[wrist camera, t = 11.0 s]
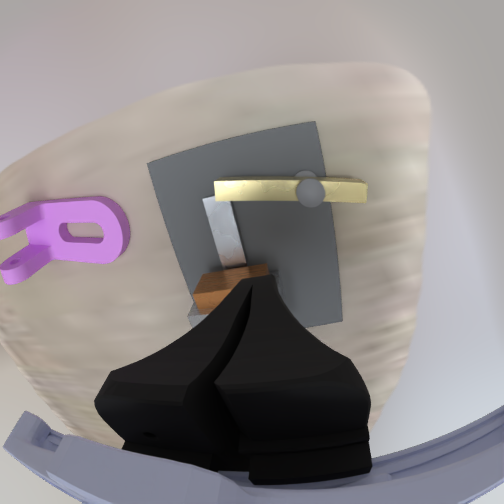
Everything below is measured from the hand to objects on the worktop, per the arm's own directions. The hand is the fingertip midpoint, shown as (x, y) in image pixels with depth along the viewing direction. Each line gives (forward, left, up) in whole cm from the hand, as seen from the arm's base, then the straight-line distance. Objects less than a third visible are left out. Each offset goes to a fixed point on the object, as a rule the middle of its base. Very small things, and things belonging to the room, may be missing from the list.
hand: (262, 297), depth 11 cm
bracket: (+4, +17, -10) cm, 20 cm away
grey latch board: (-2, +2, -9) cm, 10 cm away
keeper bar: (+3, -2, -8) cm, 9 cm away
